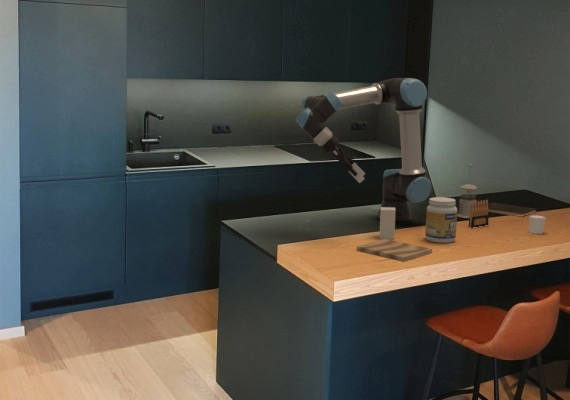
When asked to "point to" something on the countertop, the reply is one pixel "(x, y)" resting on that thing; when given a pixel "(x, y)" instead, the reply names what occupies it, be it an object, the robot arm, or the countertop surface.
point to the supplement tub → (441, 220)
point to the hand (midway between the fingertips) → (362, 178)
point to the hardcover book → (509, 209)
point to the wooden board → (394, 249)
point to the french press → (466, 200)
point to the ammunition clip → (478, 214)
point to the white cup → (536, 224)
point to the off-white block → (387, 223)
